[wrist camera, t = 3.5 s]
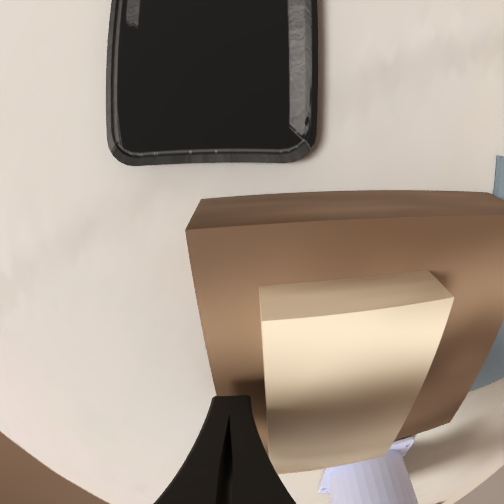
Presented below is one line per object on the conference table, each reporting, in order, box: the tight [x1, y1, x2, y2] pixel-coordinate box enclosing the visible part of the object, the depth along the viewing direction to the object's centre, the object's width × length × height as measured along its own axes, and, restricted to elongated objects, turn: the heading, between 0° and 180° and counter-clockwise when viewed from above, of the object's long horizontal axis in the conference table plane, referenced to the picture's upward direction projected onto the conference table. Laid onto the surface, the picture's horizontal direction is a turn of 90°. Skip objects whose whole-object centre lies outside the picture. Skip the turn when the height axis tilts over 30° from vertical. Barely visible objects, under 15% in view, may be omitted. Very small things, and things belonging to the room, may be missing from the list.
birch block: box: [259, 271, 454, 474], centre depth 11 cm, size 10×6×2 cm, turn 4°
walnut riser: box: [185, 190, 504, 457], centre depth 13 cm, size 14×14×4 cm
